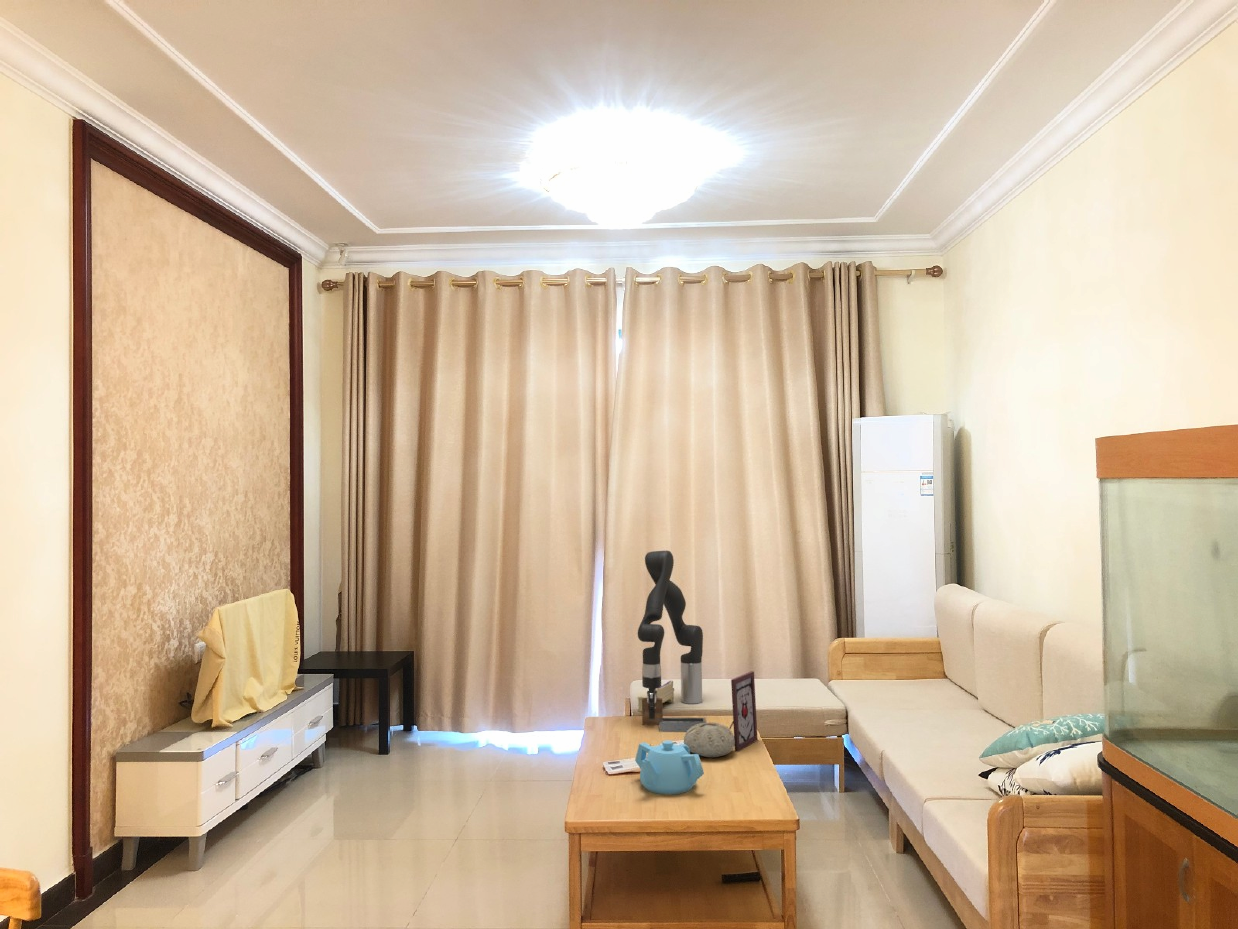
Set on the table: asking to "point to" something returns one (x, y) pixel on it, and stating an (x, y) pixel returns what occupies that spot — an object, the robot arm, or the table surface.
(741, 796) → the table surface
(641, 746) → the teapot
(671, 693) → the toy sofa
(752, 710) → the picture frame
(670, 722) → the tray
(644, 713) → the door panel
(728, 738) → the decorative shell
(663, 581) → the robot arm
